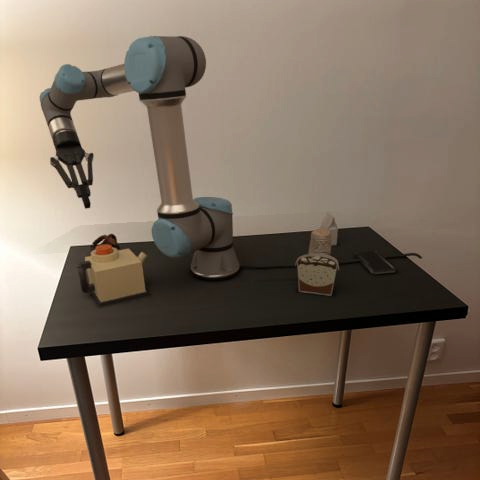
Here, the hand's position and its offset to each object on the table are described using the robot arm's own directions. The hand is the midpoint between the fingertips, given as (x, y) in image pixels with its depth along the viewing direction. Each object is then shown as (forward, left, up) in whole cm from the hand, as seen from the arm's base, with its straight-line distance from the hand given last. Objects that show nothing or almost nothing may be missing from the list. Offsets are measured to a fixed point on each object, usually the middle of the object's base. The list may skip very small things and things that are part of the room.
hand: (87, 205), depth 144 cm
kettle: (-11, +9, -22) cm, 27 cm away
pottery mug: (+6, -16, -22) cm, 28 cm away
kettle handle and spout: (-11, +9, -22) cm, 27 cm away
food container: (-67, -7, -22) cm, 71 cm away
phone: (-82, -29, -22) cm, 90 cm away
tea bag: (-65, -46, -22) cm, 83 cm away
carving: (-65, -23, -22) cm, 73 cm away
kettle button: (-8, +8, -11) cm, 16 cm away
